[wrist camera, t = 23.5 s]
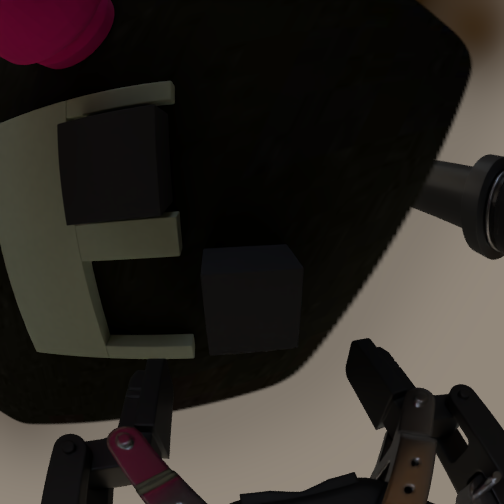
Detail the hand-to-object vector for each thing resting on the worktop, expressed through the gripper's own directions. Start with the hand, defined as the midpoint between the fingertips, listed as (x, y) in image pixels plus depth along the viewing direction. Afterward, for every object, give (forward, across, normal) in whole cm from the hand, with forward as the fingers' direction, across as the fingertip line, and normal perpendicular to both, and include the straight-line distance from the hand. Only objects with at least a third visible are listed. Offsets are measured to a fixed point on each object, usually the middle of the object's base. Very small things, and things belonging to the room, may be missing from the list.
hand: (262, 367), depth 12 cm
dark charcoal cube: (+9, +7, -8) cm, 14 cm away
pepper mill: (+9, +11, -19) cm, 23 cm away
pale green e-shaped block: (+9, +11, -4) cm, 14 cm away
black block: (+8, 0, 0) cm, 9 cm away
